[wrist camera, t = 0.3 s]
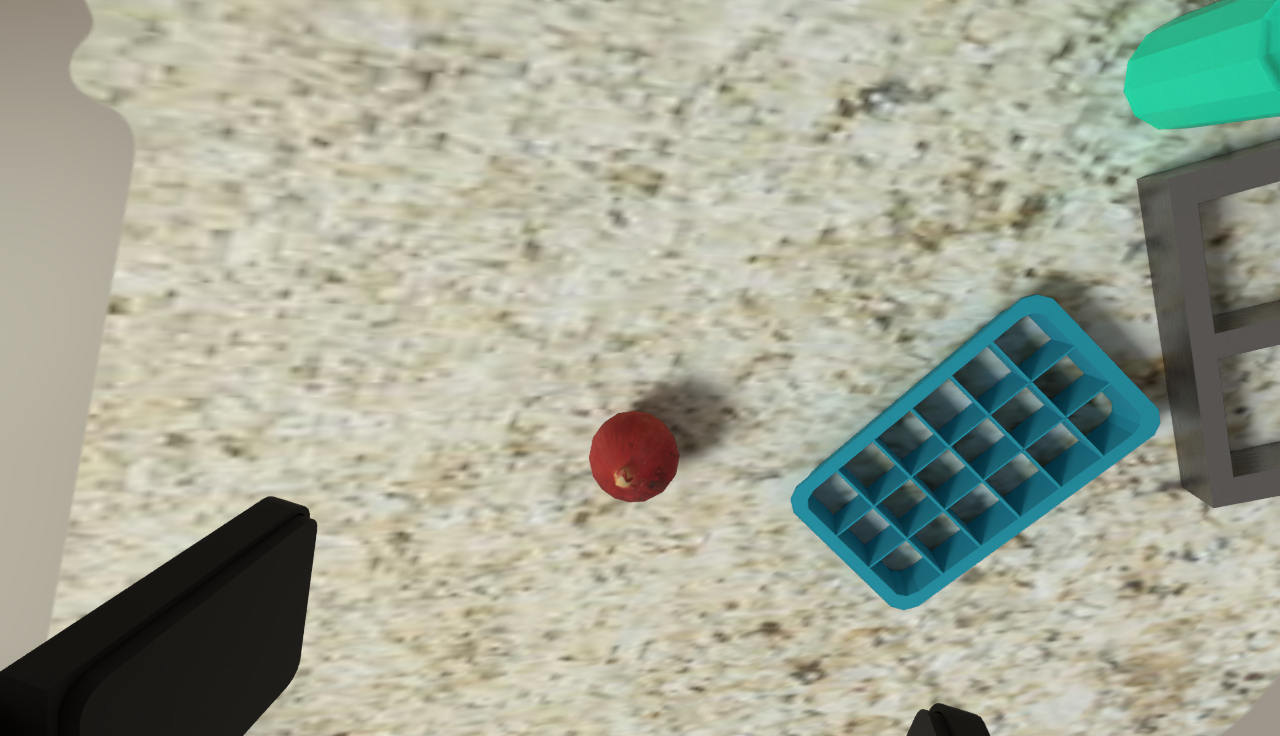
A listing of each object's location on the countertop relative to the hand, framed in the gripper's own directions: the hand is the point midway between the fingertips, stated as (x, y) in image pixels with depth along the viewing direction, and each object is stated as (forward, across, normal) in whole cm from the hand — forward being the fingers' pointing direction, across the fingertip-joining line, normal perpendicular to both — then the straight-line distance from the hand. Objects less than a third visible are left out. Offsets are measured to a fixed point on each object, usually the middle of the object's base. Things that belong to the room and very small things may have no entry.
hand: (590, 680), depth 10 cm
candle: (+37, -22, -19) cm, 47 cm away
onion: (+36, +2, +11) cm, 38 cm away
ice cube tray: (+37, -19, +5) cm, 42 cm away
